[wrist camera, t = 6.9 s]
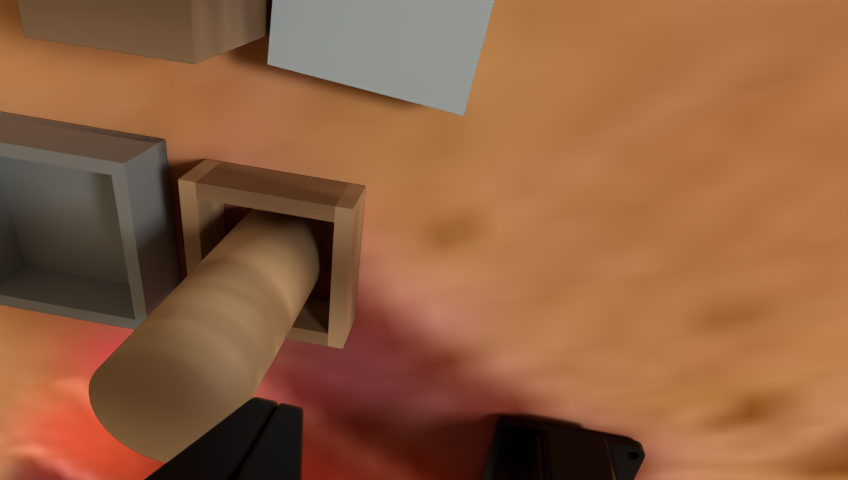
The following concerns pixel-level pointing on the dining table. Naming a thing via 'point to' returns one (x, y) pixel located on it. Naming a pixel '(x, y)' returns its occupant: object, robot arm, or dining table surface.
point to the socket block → (285, 195)
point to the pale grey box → (384, 45)
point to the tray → (84, 221)
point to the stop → (149, 25)
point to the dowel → (210, 336)
